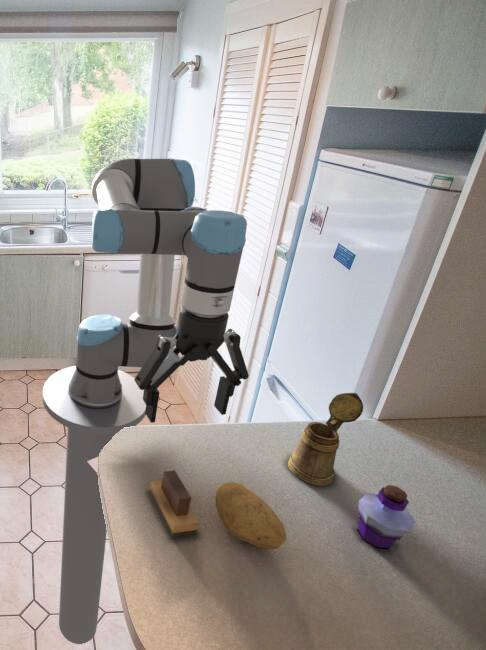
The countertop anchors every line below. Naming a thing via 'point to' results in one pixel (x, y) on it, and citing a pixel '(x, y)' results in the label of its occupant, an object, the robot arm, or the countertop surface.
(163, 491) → the brush
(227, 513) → the potato
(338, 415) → the wooden mug
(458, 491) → the countertop surface
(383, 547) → the potion bottle
